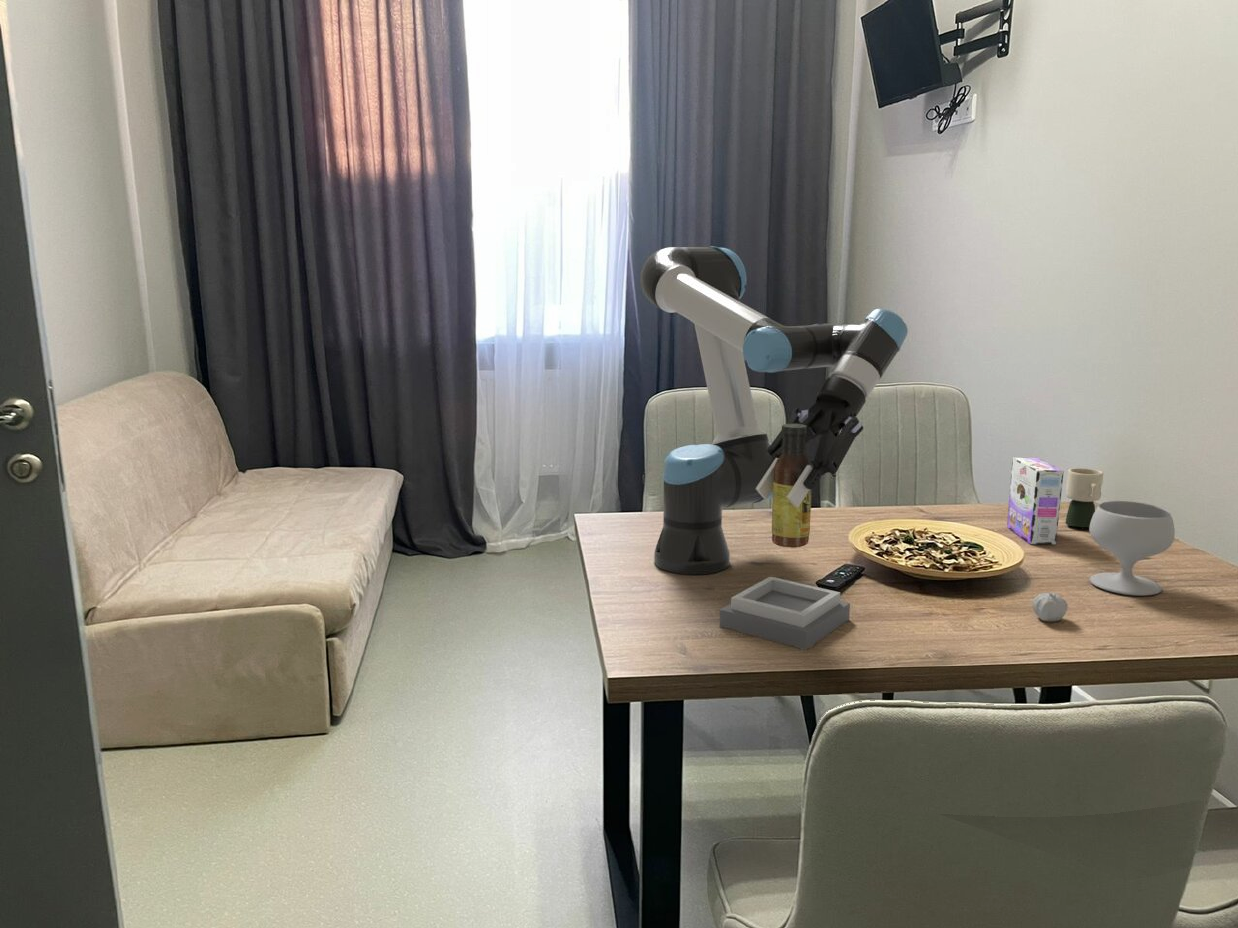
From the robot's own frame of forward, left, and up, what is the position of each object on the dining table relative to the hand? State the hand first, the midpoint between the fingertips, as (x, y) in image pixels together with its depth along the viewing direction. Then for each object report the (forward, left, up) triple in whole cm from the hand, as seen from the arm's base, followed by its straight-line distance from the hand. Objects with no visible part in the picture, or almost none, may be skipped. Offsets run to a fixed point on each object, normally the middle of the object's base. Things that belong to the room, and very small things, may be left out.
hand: (776, 497), depth 156 cm
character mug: (+27, +96, -23) cm, 102 cm away
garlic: (+36, +33, -23) cm, 53 cm away
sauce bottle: (+1, +3, -9) cm, 9 cm away
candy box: (+20, +82, -23) cm, 87 cm away
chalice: (+43, +59, -23) cm, 76 cm away
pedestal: (+1, +4, -22) cm, 23 cm away
